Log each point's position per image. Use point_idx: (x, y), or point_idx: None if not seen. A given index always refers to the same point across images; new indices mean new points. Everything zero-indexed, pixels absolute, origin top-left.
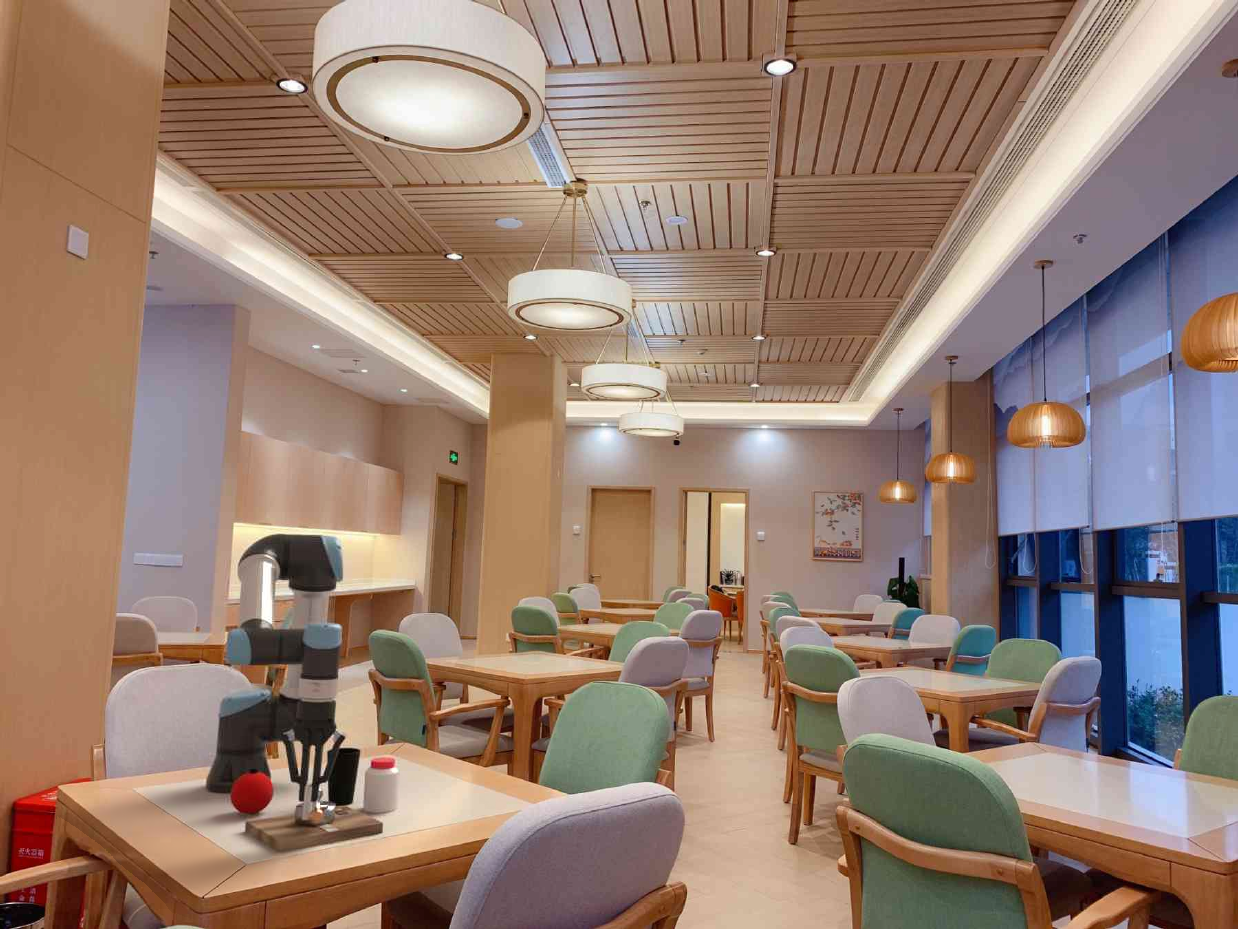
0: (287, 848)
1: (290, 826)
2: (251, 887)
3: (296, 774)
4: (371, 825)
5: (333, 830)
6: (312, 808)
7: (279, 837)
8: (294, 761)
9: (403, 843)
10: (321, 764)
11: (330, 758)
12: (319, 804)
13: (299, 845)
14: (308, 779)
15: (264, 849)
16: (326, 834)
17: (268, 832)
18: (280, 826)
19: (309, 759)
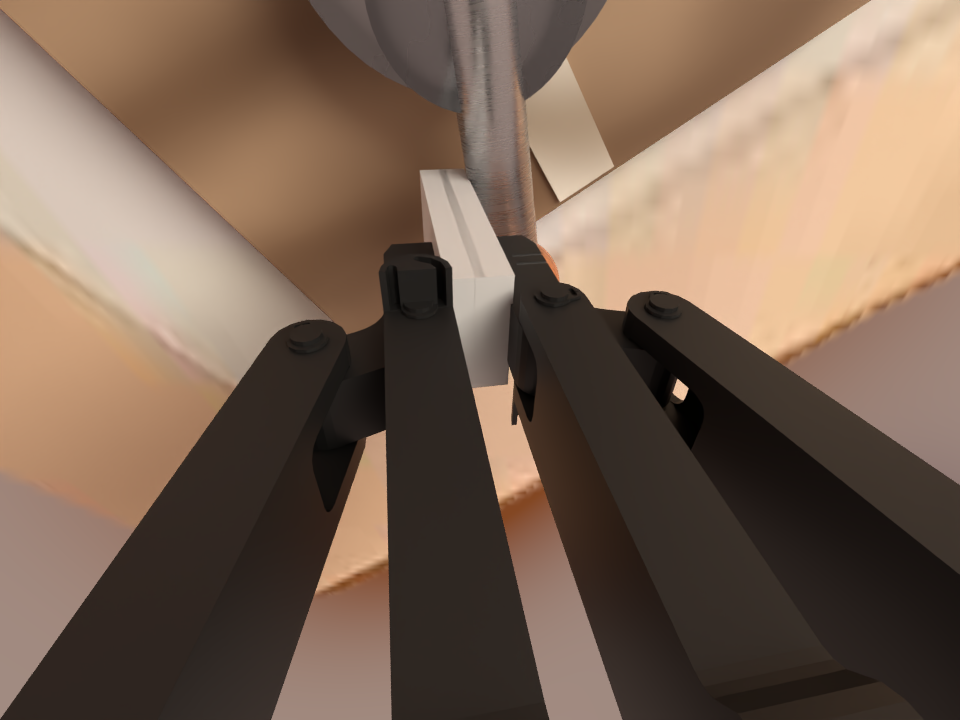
0: None
1: (299, 41)
2: (386, 554)
3: (351, 473)
4: (811, 37)
5: (587, 184)
6: (473, 161)
7: (325, 284)
8: (293, 629)
9: (863, 200)
10: (664, 432)
11: (811, 609)
12: (513, 20)
13: None
14: (450, 265)
15: (269, 274)
16: (549, 207)
17: (217, 191)
18: (224, 36)
19: (499, 522)
